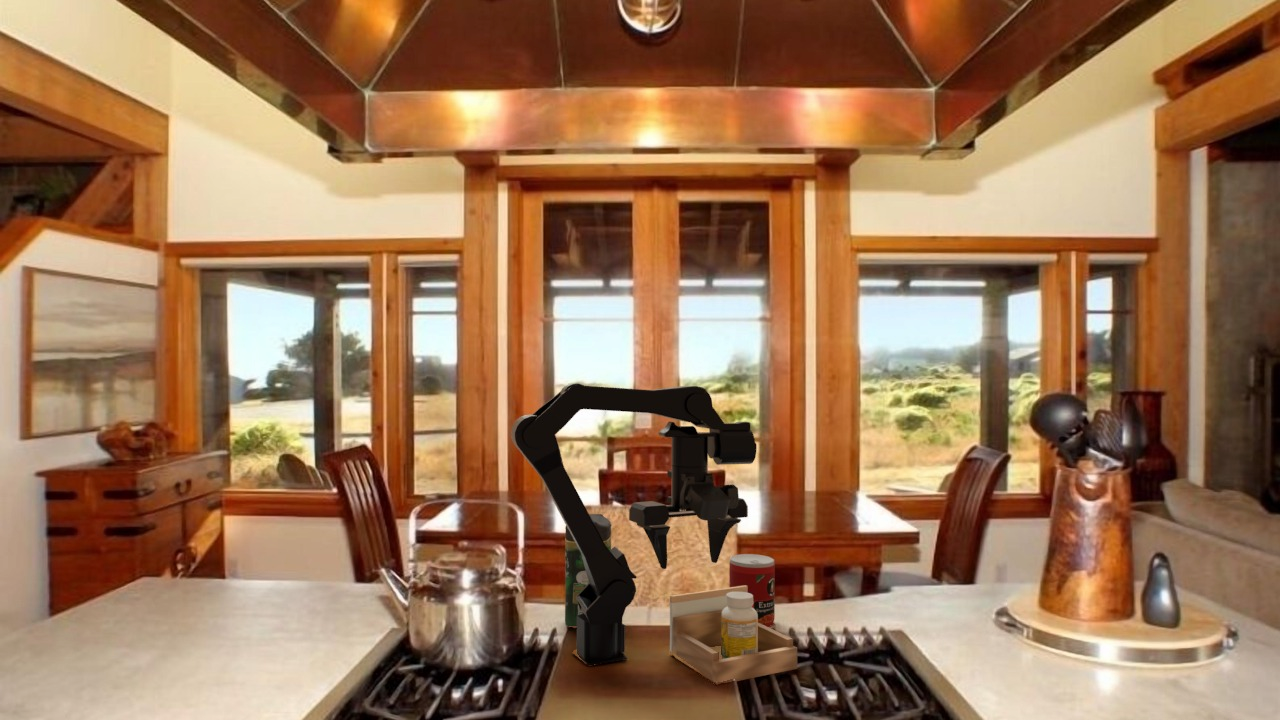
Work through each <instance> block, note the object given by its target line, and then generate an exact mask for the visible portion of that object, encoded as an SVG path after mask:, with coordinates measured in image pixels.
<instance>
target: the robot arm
mask: <svg viewBox="0 0 1280 720" xmlns="http://www.w3.org/2000/svg"><path fill="white" fill-rule="evenodd" d="M581 410H593V411H594V410H595V411H609V412H626V413H627V412H628V413H642V414H643V413H644V414H652V415H654V416H655V415H656V416H659V417H663V418H666V419H671V420H675V421H678V422H679V421H680V422H684V423H686V422H687V423H691V424H692V425H685V426H684V425H680V426H679V425H677V424H676V423H675V422H674V421H668V422H667V423H666V425H665V426H664V427H663V428H662V429H661V430H659V432H658V435H659V436H660V437H665V438H671V470H667V476H666V477H667V478H670V479H671V492H670V493H671V495H670V496H666V498H667V499H666V502H667V504H670V505H667V504H664V503H660V502H657V501H653V500H650V501H648V500H647V501H639V502H638V501H637V502H633V503H632V504H631V506H630V507H629V510H628V512H629V513H628V515H629V516H628V518H629V519H628V520H629V521H631V522H633V523H635V524H636V526H638V527H641V528H643V530H644V532H645V534H646V536H647V538H648V539H649V540H648V541H650V544H651V546H652V549H653V551H654V553H655V556H656V559H657V561H658V564H659V566H660V568H661V569H663V570H665V569H667V568H668V544H667V543H668V538H667V536H668V533H669V531H670V530H671V526H670V525H667V524H666V523H667V522H668V521H669V520H670V518H680V517H694V516H696V517H698V518H699V520H701V521H707V532H708V544H709V545H708V547H709V548H708V549H709V554H710V555H709V556H710V560H711V562H712V563H714V564H716V563H717V562H718V561H719V558H720V555H721V551H722V549H723V546H724V543H725V542H726V541H725V540H726V538H727V536H728V535H729V532H730V530H731V529H732V528H733V527H734V526H735V525H737V524H739V523H741V522H742V518H748V517H749V508H748V503H747V502H746V500H745V499H744V498H740V496H739V487H737V486H736V485H735V484H732V483H731V484H723V486H715V484H714V475H713V472H709V466H708V464H709V462H708V461H709V459H708V458H710V459H713V462H714V464H715V465H717V466H719V465H722V466H723V465H726V466H727V465H751V464H753V463H754V461H755V459H756V455H757V447H758V446H757V442H756V441H755V440H756V439H755V435H754V433H753V431H752V430H751V422H749V421H736V422H724V421H723V420H722V418H721V417H720V415H719V414H718V412H717V411H716V410H715V408H714V407H713V400H712V396H711V394H710V393H709V392H708V391H707V389H706V388H704V387H702V386H697V385H682V386H681V385H679V386H672V387H663V388H656V389H638V388H637V389H636V388H624V387H622V388H621V387H610V386H597V385H596V386H594V385H593V386H592V385H584V384H581V383H568V384H566V385H565V386H563V387H562V388H561V390H560V391H559V392H558V393H557V394H556V395H555V396H553V397H552V398H550V399H549V400H548V401H547V402H545V403H544V404H542V405H541V406H540V407H539V408H538V409H537V410H536V411H535V412H533V413H531V414H525V415H522V416H519V418H517V419H516V420H515V421H514V422H513V424H512V426H511V431H510V437H511V440H512V443H513V445H514V446H515V447H516V449H517V450H518V451H519V452H520V453H521V455H522V456H523V457H524V459H525V460H526V461H527V462H528V464H529V465H530V466H531V468H533V469H534V471H535V472H536V473H537V474H538V476H539V477H540V478H541V480H542V482H543V485H544V487H545V489H546V490H547V492H548V494H549V496H550V497H551V499H552V501H553V503H554V505H555V507H556V509H557V511H558V513H559V515H560V516H561V518H562V520H563V521H564V524H565V527H566V526H567V528H568V530H569V531H570V533H571V535H572V537H573V539H574V541H575V543H576V545H577V546H578V548H579V550H580V552H581V555H582V558H583V562H584V566H585V570H586V574H587V577H588V580H589V583H588V584H587V585H586V586H585V587H584V589H583V590H582V591H581V592H580V593H579V594H578V595H577V596H576V599H577V602H578V605H579V608H580V609H581V610H582V612H583V614H581V615H577V629H576V649H577V654H578V655H579V657H580V658H581V659H582V660H583V661H584V662H585V663H586V664H587V665H594V664H600V663H605V664H609V663H608V662H611V663H614V662H613V661H617V662H621V661H620V660H622V661H624V660H623V659H626V660H628V656H627V655H626V653H625V650H626V625H625V623H623V617H624V614H625V611H626V608H627V607H629V606H630V605H631V603H632V602H633V600H634V598H635V596H636V592H637V586H636V584H635V579H637V575H636V574H635V573H634V572H633V571H632V570H631V569H630V567H629V564H628V561H627V558H626V555H625V554H624V553H623V552H622V551H621V550H620V549H619V548H618V547H617V546H613V547H611V550H610V551H609V549H608V548H607V547H606V545H605V544H604V542H603V540H602V538H601V536H600V534H599V532H598V530H597V529H596V527H595V525H594V523H593V521H592V519H591V517H590V515H589V514H590V513H589V511H588V510H587V508H586V506H585V504H584V503H583V500H582V498H581V496H580V495H579V493H578V490H577V489H576V487H575V486H574V483H573V481H572V479H571V478H570V476H569V474H568V472H567V470H566V468H565V466H564V461H563V458H562V454H561V449H560V446H559V443H558V440H557V436H556V435H557V434H558V432H560V431H561V430H562V429H563V428H564V427H565V426H566V425H567V424H568V423H569V421H571V420H572V419H573V418H574V416H575V415H576V414H578V412H579V411H581ZM696 427H697V428H704V429H709V430H708V431H709V432H708V431H707V432H706V431H705V432H704V431H703V432H700V431H699V432H698V431H697V428H696ZM586 664H585V665H586ZM587 665H586V666H587ZM600 665H601V664H600ZM594 666H595V665H594Z"/></svg>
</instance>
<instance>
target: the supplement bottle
mask: <svg viewBox="0 0 1280 720" xmlns="http://www.w3.org/2000/svg"><path fill="white" fill-rule="evenodd" d="M726 603H727V605H728V606H727V607H725V608H724V609H723V611H722V619H721V622H722V629H721V631H722V633H721V634H722V635H721V636H722V637H721V655H722V659H725V658H731V657H736V656H741V655H746V654H752V653H757V652H758V614H757V612H756V610H755V609H753V608H752V607H751V606H753V595H752V594H750V593H747V592H738V591H736V592H729V593H727V594H726Z"/></svg>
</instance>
